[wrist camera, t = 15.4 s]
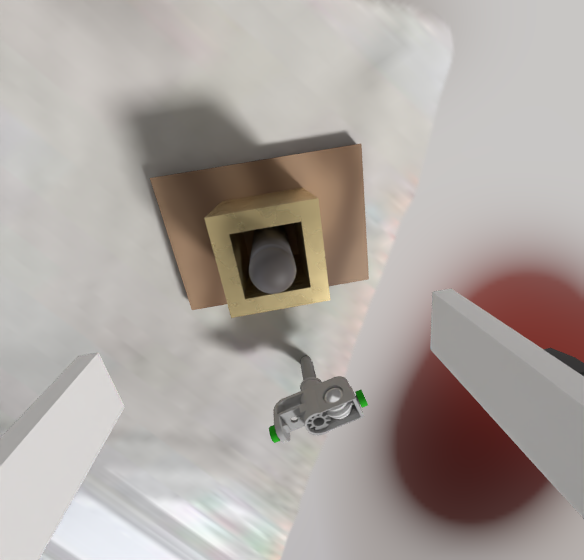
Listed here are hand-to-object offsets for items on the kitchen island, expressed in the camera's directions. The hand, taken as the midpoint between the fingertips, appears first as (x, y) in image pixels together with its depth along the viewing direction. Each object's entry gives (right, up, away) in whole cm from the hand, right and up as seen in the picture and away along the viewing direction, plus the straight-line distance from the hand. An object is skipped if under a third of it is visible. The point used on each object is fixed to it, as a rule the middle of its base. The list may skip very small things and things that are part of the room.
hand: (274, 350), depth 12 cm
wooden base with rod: (-2, +8, +20) cm, 22 cm away
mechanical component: (+3, -8, +27) cm, 28 cm away
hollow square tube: (-2, +7, +18) cm, 20 cm away
